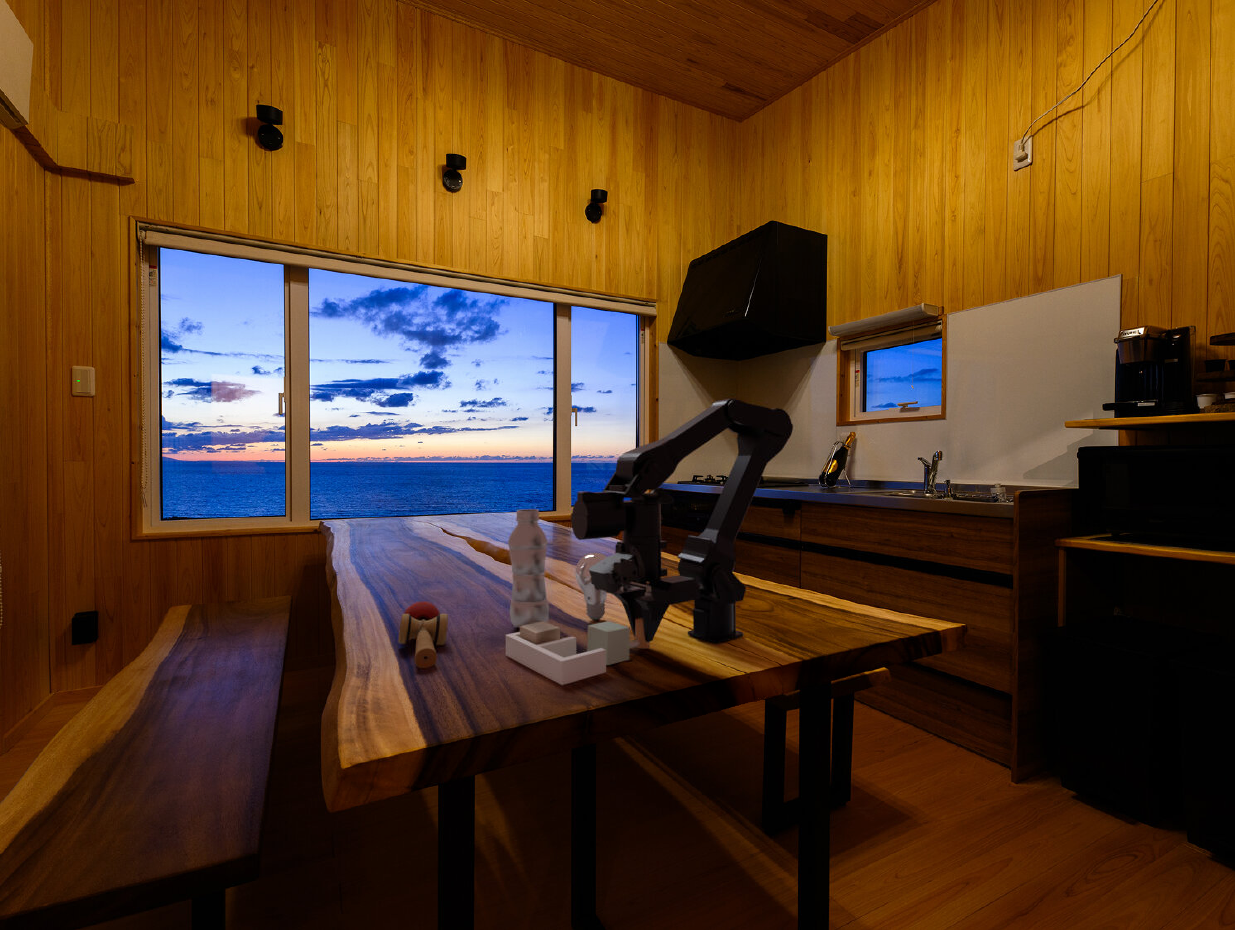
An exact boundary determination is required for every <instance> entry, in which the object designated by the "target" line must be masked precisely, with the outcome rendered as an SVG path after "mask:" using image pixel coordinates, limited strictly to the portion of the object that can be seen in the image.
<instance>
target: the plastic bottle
mask: <svg viewBox="0 0 1235 930" xmlns="http://www.w3.org/2000/svg"><path fill="white" fill-rule="evenodd" d="M539 514H540V511H539V509H538V508H537V509H536V508H535V509H534V508H529V509H527V508H525V509H523V508H522V509H517V510H516V518H515V521H516V522H517V525H516V527H515V528H514V529H513V530H512V532H511V534H510V536H509V538H508V542H507V544H508V550H509V556H510V561H511V562H510V563H511V572H512V588H511V589H512V590H511V601H510V607H509V608H510V609H509V618H510V621H511V623H512V625H513V626H514V627H516V628H519V629H520V626H523V625H528V624H533V623H537V622H542V621H544V622H547V623H548V621H549V616H550V606H549V601H548V598H547V591H546V590H547V588H546V582H545V581H546V580H545V578H546V576H545V575H546V573H545V572H546V557H547V546H548V539H547V536H546V533H545V532H544V531H543V529H542V528H541V526H540V525H539V521H540V517H539Z"/></svg>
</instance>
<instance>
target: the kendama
mask: <svg viewBox="0 0 1235 930" xmlns="http://www.w3.org/2000/svg"><path fill="white" fill-rule="evenodd" d="M448 624H449V617H448V614H447V613H440V609H438V608H437V606H436V605H434V604H433V603H431V602H429V601H418V602H415V603H412V604H411V605H409V606H408V607H407V608H406V609H405V611H404V613H403V614H401V619H400V624H399V631H398V644H403V645H404V644H407V643H408V642H409V641H410V640H415V641H416V642H415V654H414V663H415V665H416V666H417V667H418V668H419V669H428V668H432V667H434V666H435V664H436V663H437V660H438V654H437V651H436V649H435V646H444V645H445V643H446V642H447V641H446V640H447V633H448V626H449V625H448Z"/></svg>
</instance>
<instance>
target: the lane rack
mask: <svg viewBox="0 0 1235 930" xmlns="http://www.w3.org/2000/svg"><path fill="white" fill-rule="evenodd" d="M505 656H506V657H508V658H510V659H512V660H513V661H515V662H518V663H519V664H521V665H523V666H524V667H527V668H528V669H531V670H532V671H534V672H536V673H538V674H540V675H542V676H544V677H546V678H547V679H549V680H551V681H553V682H555V683H558V684H559V685H561V686H564V685H567V684H571V683H575V682H578V681H580V680H584V679H585V680H586V679H588V678H591V677H594V676H598V675H601V674H605V673H607V665H606V650H605V649H603V648H599V649H595V650H592V651H588V652H587V651H585V652H581V653H577V637H574V636H567V637H564V638H560V639H559V640H554V641H550V642H546V643H542V644H537V645H535V644H533V643H531V642H529V641H527V640H524V639H522V638H520V631H518V632H513V633H508V634H505Z"/></svg>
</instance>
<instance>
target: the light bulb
mask: <svg viewBox="0 0 1235 930" xmlns="http://www.w3.org/2000/svg"><path fill="white" fill-rule="evenodd" d="M606 557H607V556H606V555H605V554H603V553H600V552H590V553H587V554H586V555H584V556H582V557H581V558H580V559H579V561H578V562H577V564H576V567H575V572H574V573H575V574H574V576H575V579H576V583H577V585H578V586H579V588H580V589H581V591H582V594H583V599H584V602H585V603H586V605H585V608H586V609H585V611H586V613H585V614H586V616H587V617H588V618H589V619H590V620H591V621H592V620H593V622H599V621H600V620H601V619H602V618H603V617H604V615H605V614H606V611H605V610H606V608H605V606H606V604H605V602H606V600H607V596H608V593H607V592H606V591H603V590H600V589H599V590H596V589H595V587H594V585H593V584H591V575H590V572H589V568H590V567H591V566H593V565H595V564H596V563H598V562H600V561H601V560H603V559H605V558H606ZM598 620H599V621H598Z"/></svg>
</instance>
